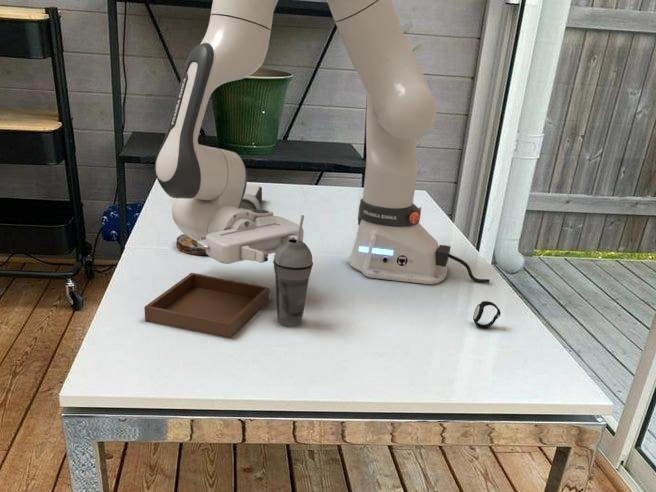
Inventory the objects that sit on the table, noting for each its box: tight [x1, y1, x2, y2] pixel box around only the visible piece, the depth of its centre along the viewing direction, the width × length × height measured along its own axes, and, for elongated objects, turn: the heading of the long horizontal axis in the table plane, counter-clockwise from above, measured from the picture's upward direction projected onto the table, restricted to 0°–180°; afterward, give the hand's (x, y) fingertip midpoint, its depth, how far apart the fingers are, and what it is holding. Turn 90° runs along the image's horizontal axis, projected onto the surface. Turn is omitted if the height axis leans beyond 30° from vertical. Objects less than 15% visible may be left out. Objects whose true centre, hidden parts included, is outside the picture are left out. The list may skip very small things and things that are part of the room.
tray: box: [144, 272, 271, 340], centre depth 145 cm, size 17×20×3 cm
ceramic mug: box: [239, 193, 261, 210], centre depth 190 cm, size 11×8×8 cm
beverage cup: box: [272, 214, 314, 328], centre depth 139 cm, size 7×7×20 cm
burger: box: [175, 233, 209, 256], centre depth 174 cm, size 12×12×8 cm
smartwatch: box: [472, 300, 502, 330], centre depth 148 cm, size 4×5×5 cm
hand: (284, 253), depth 139 cm, fingers open, 8 cm apart
